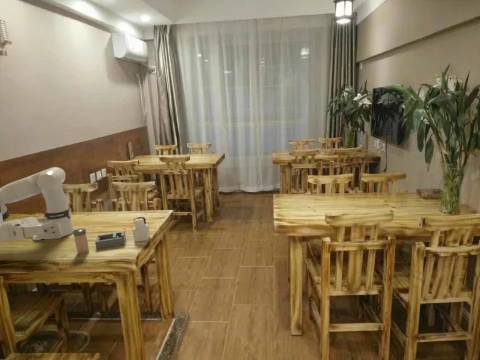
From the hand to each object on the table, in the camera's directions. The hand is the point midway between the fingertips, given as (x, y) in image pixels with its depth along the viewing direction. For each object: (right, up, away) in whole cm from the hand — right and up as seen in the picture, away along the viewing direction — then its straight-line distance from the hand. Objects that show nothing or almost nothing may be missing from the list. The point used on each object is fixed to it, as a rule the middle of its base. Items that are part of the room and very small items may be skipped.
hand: (49, 221), depth 166 cm
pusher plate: (+24, -13, +22) cm, 35 cm away
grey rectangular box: (+22, -14, +22) cm, 34 cm away
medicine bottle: (+37, -13, +25) cm, 47 cm away
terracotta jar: (+11, -17, +12) cm, 24 cm away
